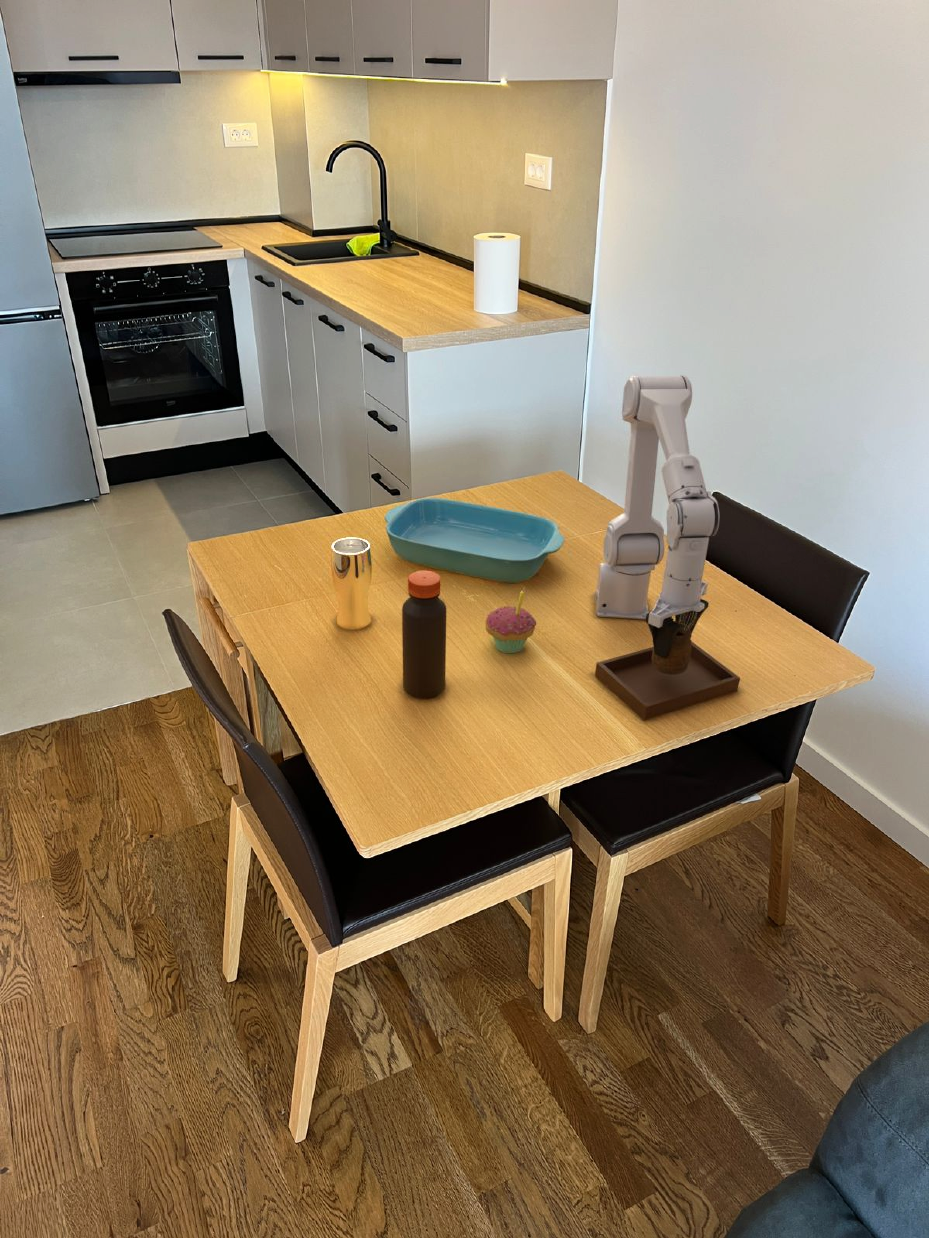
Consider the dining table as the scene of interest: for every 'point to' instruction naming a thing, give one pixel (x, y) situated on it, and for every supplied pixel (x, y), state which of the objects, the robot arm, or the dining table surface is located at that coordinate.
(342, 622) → the beer glass
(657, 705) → the tray
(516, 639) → the cupcake
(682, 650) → the utensil holder
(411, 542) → the casserole dish
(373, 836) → the dining table surface
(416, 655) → the bottle
